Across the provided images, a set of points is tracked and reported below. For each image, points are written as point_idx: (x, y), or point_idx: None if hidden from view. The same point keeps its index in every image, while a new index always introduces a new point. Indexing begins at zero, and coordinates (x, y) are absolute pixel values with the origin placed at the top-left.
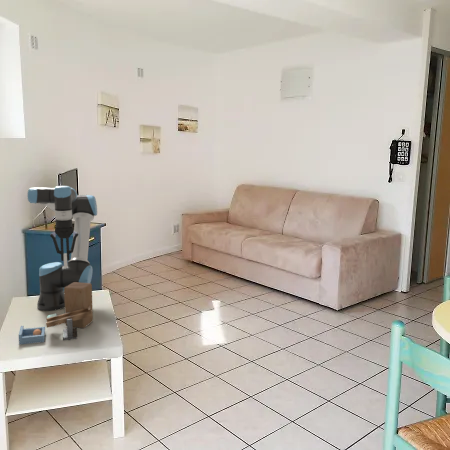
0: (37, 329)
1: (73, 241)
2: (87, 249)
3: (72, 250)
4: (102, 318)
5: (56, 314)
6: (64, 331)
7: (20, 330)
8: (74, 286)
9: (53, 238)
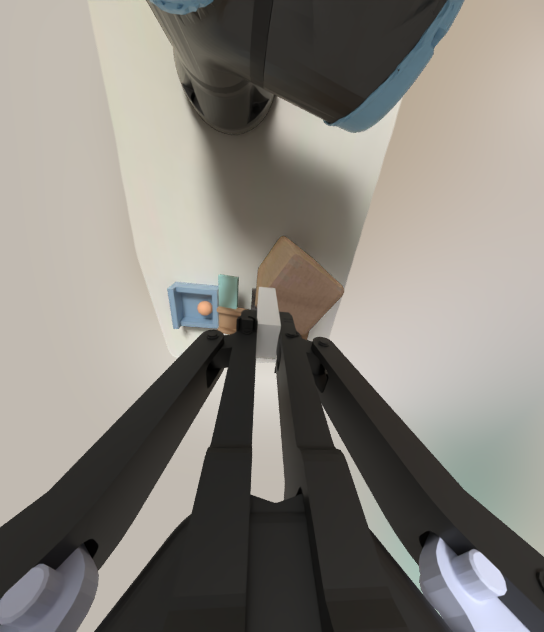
0: (203, 311)
1: (363, 465)
2: None
3: (321, 379)
4: (337, 250)
5: (237, 282)
6: (253, 300)
7: (172, 311)
8: (286, 311)
9: (92, 541)
